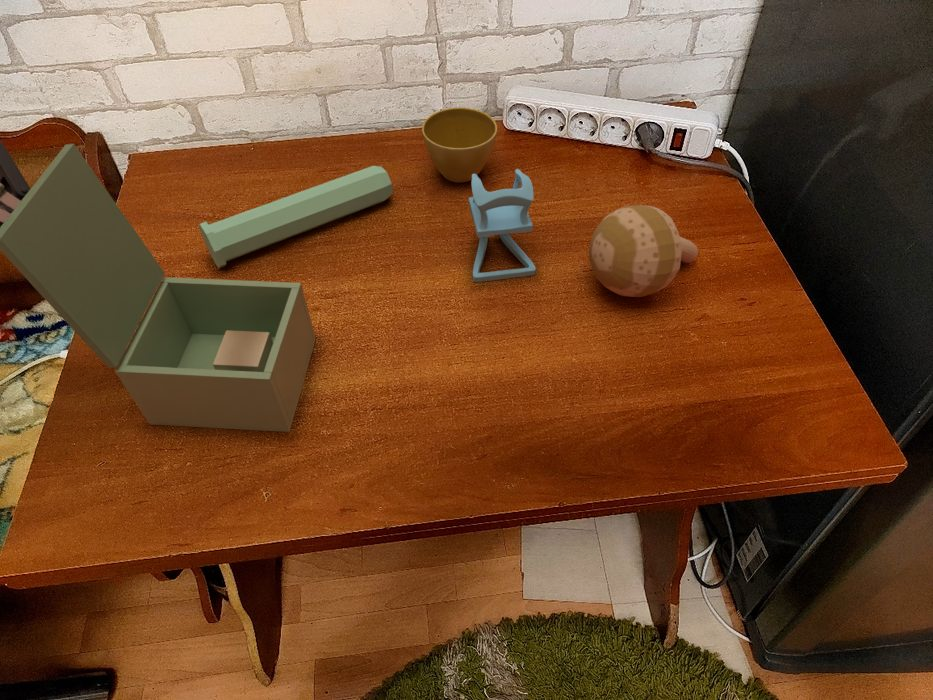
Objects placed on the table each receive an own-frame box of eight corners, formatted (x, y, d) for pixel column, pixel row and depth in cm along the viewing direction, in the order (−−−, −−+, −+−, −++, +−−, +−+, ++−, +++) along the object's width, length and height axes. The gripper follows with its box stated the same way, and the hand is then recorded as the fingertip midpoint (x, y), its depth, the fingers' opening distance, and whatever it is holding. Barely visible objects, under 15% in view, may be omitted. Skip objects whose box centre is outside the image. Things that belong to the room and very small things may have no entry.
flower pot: (509, 165, 98) (510, 120, 93) (472, 202, 93) (471, 157, 87) (450, 144, 102) (448, 100, 96) (411, 179, 96) (407, 134, 91)
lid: (73, 143, 59) (65, 144, 59) (-1, 238, 51) (-11, 239, 51) (165, 273, 71) (157, 273, 71) (116, 367, 63) (108, 368, 63)
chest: (316, 338, 77) (300, 282, 70) (289, 432, 69) (269, 379, 62) (190, 332, 78) (163, 276, 71) (149, 424, 70) (114, 371, 63)
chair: (522, 231, 89) (527, 151, 79) (536, 275, 83) (543, 195, 74) (463, 238, 88) (461, 158, 79) (473, 283, 83) (473, 202, 73)
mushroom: (736, 262, 80) (671, 243, 69) (671, 321, 85) (601, 312, 75) (685, 201, 85) (617, 175, 74) (626, 261, 90) (556, 244, 80)
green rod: (380, 149, 90) (195, 214, 81) (402, 184, 89) (216, 254, 80) (376, 175, 96) (202, 239, 87) (396, 209, 94) (222, 277, 85)
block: (225, 392, 71) (212, 364, 68) (237, 358, 74) (226, 330, 71) (268, 394, 71) (257, 366, 68) (279, 360, 74) (269, 332, 71)
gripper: (-225, 141, 45) (43, 282, 54) (-104, 46, 54) (111, 181, 62) (-236, 203, 50) (13, 324, 58) (-123, 106, 58) (81, 225, 67)
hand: (64, 250), depth 60 cm, fingers closed
